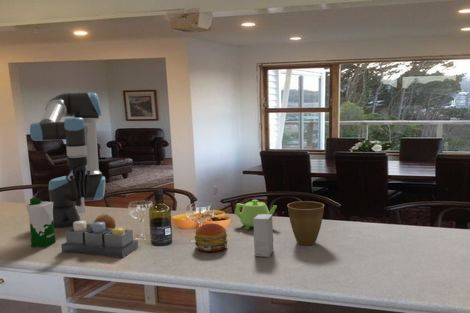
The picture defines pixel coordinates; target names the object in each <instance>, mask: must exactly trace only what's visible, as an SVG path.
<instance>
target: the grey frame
mask: <svg viewBox="0 0 470 313" xmlns="http://www.w3.org/2000/svg"><path fill="white" fill-rule="evenodd" d="M86 228H87V230H85V231H83V232H75V231H74V227H72V228H71V229H69V230H65V240H66V242H64V243H62V244H61V253H68V254H69V253H70V254H80V255H89V256H90V255H91V256H102V257H113V258H124V257H126V256H128V255H129V254H130V253H132V252H134V251H135V250H136V249H138V248H139V241H138V239H134V236H133V235H134V234H133V231H134V230H133V229H126V228H125V233H124V234H122V235H114V234H112V229H113V228H105V232H103V233H93V230H92V226H86Z"/></svg>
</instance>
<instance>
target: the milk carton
mask: <svg viewBox="0 0 470 313" xmlns="http://www.w3.org/2000/svg"><path fill="white" fill-rule="evenodd" d="M25 208H26V210H27V214H28V218H29V220H28V222H29V229H30V247H31V248H47V247H48V248H49V247H50V246H52V245H53V244H56V242H57V241H56V235H55V227H54V222H53V202H50V201H47V200H46V201H41V198H40V197H33V198H30V199H29V204H27V205H26V207H25Z"/></svg>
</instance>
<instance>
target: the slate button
mask: <svg viewBox="0 0 470 313" xmlns="http://www.w3.org/2000/svg"><path fill="white" fill-rule="evenodd" d="M91 227H92V230H93V233H103V232H105V222H95V223H94V222H93V223H92V224H91Z"/></svg>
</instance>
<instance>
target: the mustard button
mask: <svg viewBox="0 0 470 313" xmlns="http://www.w3.org/2000/svg"><path fill="white" fill-rule="evenodd" d="M125 229H126V228H125V227H115V228H114V229H112V234H114V235H122V234H124V233H125Z"/></svg>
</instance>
